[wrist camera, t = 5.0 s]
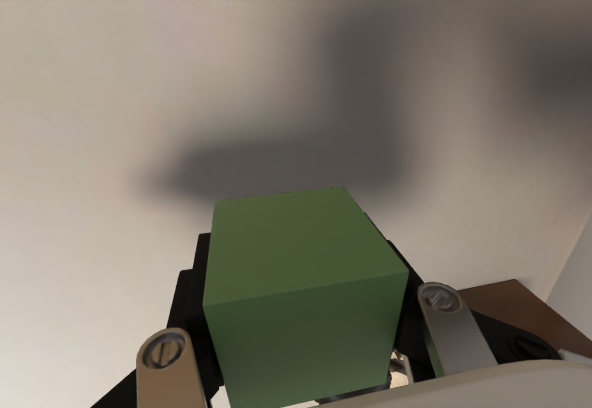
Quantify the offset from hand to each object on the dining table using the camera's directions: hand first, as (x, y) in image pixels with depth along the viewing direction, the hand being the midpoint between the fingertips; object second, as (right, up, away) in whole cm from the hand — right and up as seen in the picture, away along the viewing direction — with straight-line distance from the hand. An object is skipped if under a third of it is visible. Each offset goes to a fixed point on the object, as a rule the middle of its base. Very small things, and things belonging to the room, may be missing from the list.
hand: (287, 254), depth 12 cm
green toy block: (0, 0, +1) cm, 1 cm away
